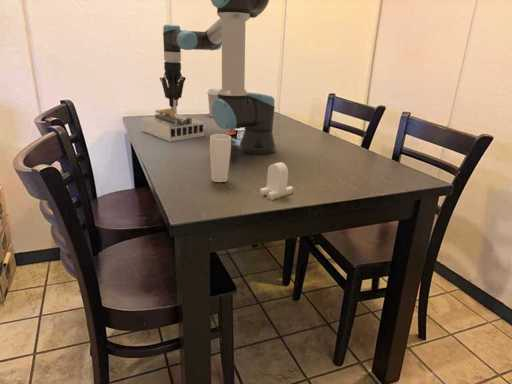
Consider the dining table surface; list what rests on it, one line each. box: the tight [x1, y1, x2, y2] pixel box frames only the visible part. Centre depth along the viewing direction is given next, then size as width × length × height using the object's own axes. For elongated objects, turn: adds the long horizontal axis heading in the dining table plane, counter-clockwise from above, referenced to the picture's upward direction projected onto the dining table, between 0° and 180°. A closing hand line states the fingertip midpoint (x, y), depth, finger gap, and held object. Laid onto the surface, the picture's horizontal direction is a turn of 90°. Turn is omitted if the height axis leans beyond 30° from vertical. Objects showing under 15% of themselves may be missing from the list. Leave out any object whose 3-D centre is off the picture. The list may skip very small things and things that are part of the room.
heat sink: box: [141, 113, 205, 143], centre depth 178 cm, size 22×19×9 cm
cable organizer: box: [259, 161, 294, 197], centre depth 117 cm, size 5×10×10 cm, turn 133°
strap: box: [154, 113, 188, 125], centre depth 176 cm, size 21×4×2 cm, turn 45°
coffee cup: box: [206, 88, 222, 118], centre depth 219 cm, size 10×10×15 cm
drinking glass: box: [209, 133, 232, 183], centre depth 124 cm, size 7×7×15 cm
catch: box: [155, 108, 175, 117], centre depth 181 cm, size 4×8×3 cm, turn 135°
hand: (173, 113), depth 185 cm, fingers closed
